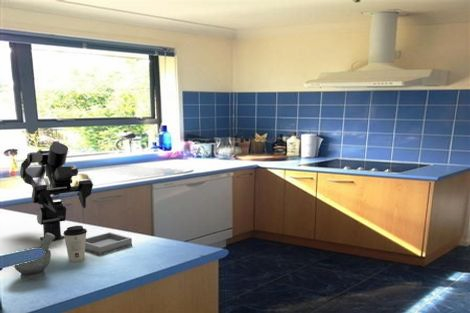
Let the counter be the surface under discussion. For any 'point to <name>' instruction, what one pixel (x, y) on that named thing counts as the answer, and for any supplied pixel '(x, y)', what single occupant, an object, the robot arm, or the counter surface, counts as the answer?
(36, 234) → the counter surface
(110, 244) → the tray
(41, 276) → the mortar and pestle
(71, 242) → the coffee cup
